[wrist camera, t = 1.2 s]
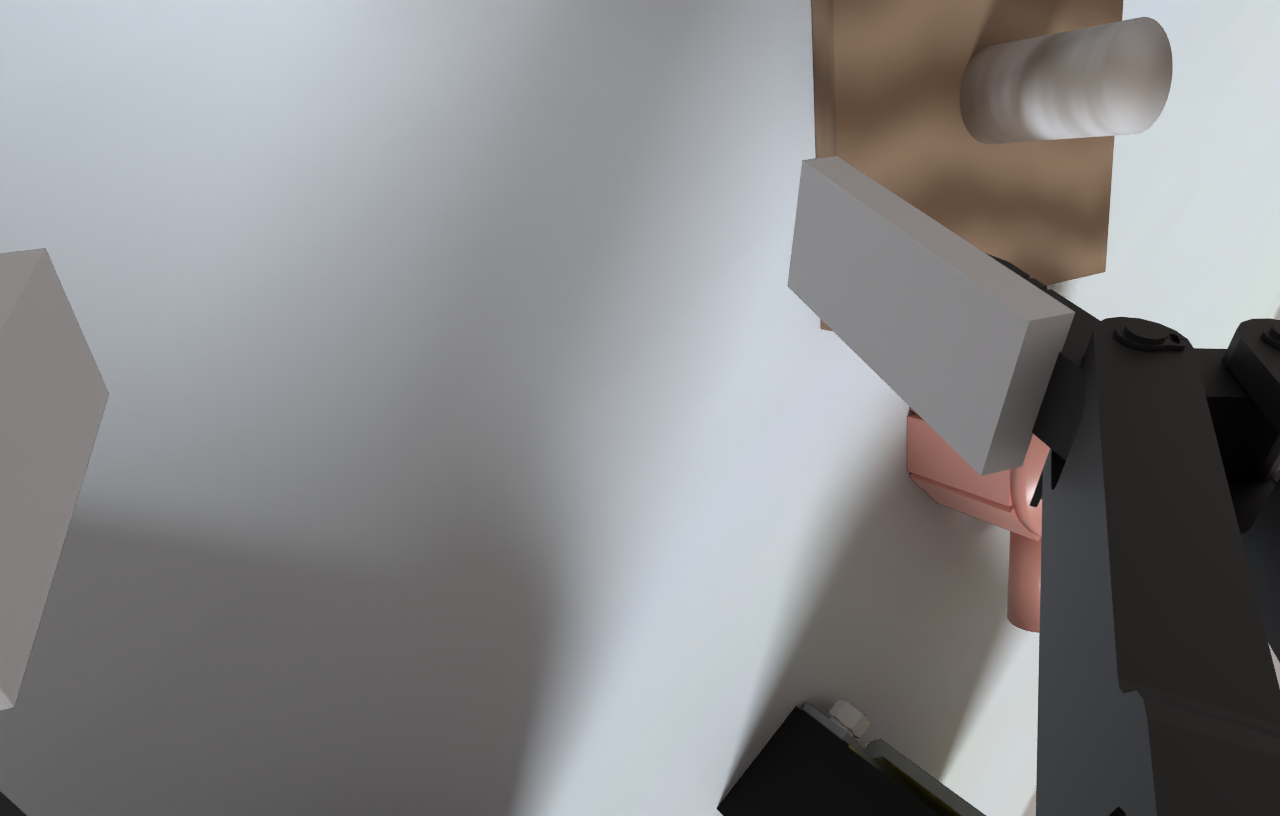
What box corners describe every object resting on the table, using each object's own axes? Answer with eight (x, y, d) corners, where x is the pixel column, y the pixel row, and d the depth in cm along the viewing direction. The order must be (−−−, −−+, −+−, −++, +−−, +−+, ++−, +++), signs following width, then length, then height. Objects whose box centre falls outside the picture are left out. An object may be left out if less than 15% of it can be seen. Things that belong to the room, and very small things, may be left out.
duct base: (1083, 270, 55) (1244, 281, 47) (820, 328, 45) (968, 356, 37) (1105, -115, 49) (1296, -178, 41) (807, -146, 39) (980, -237, 31)
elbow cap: (907, 366, 49) (1030, 392, 42) (1016, 337, 53) (1144, 357, 46) (907, 606, 53) (1018, 666, 46) (1007, 562, 57) (1123, 610, 50)
